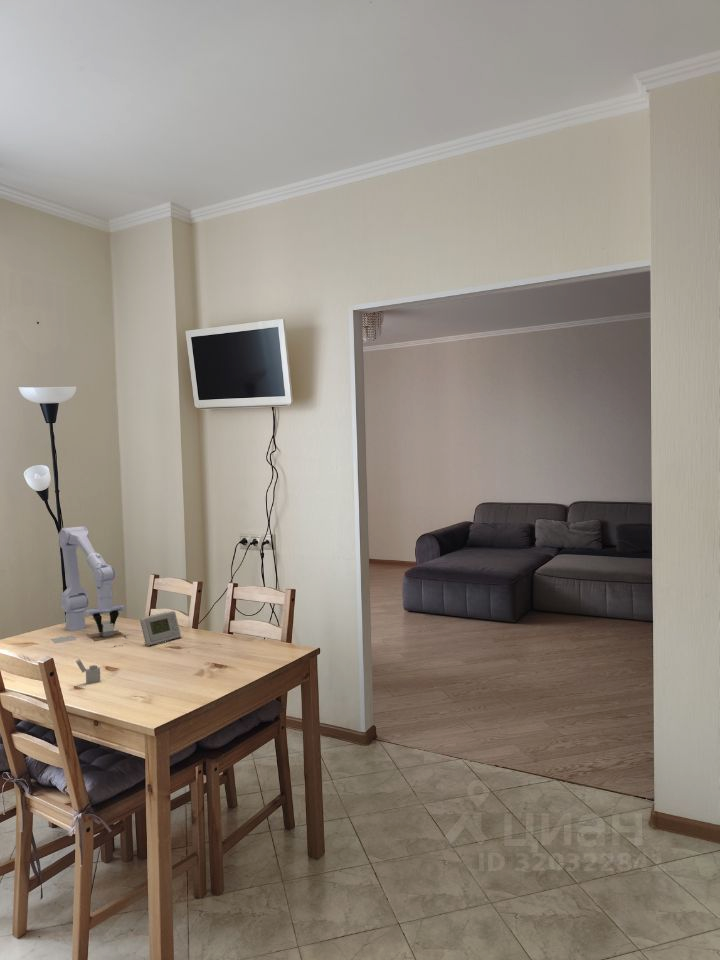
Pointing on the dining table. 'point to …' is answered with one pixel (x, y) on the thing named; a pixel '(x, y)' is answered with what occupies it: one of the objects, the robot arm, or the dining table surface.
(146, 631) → the digital clock
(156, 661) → the dining table surface
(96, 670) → the lighter
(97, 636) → the walnut stand
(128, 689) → the dining table surface
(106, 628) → the housing
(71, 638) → the grey stand
